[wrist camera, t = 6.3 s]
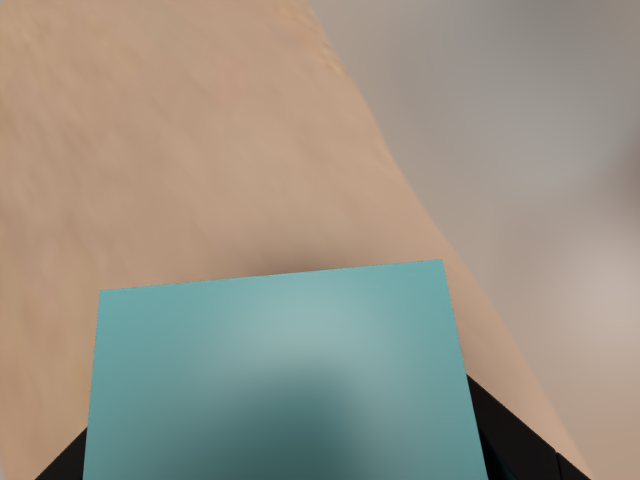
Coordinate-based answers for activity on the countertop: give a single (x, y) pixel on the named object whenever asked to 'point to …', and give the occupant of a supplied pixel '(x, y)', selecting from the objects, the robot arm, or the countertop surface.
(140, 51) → the countertop surface
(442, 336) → the teal rectangular block
